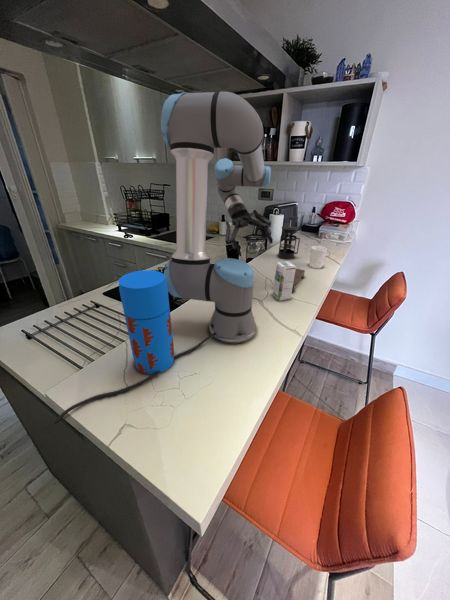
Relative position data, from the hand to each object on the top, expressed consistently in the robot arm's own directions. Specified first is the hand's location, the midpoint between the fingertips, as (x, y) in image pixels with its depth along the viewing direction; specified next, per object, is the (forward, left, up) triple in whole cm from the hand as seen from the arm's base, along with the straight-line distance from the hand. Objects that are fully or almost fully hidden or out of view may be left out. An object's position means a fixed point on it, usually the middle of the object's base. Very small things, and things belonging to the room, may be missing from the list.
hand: (256, 248), depth 103 cm
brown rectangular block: (+16, -12, -19) cm, 27 cm away
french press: (+51, 0, -19) cm, 54 cm away
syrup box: (0, -13, -19) cm, 23 cm away
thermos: (-55, +6, -19) cm, 59 cm away
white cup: (+44, -18, -19) cm, 51 cm away
